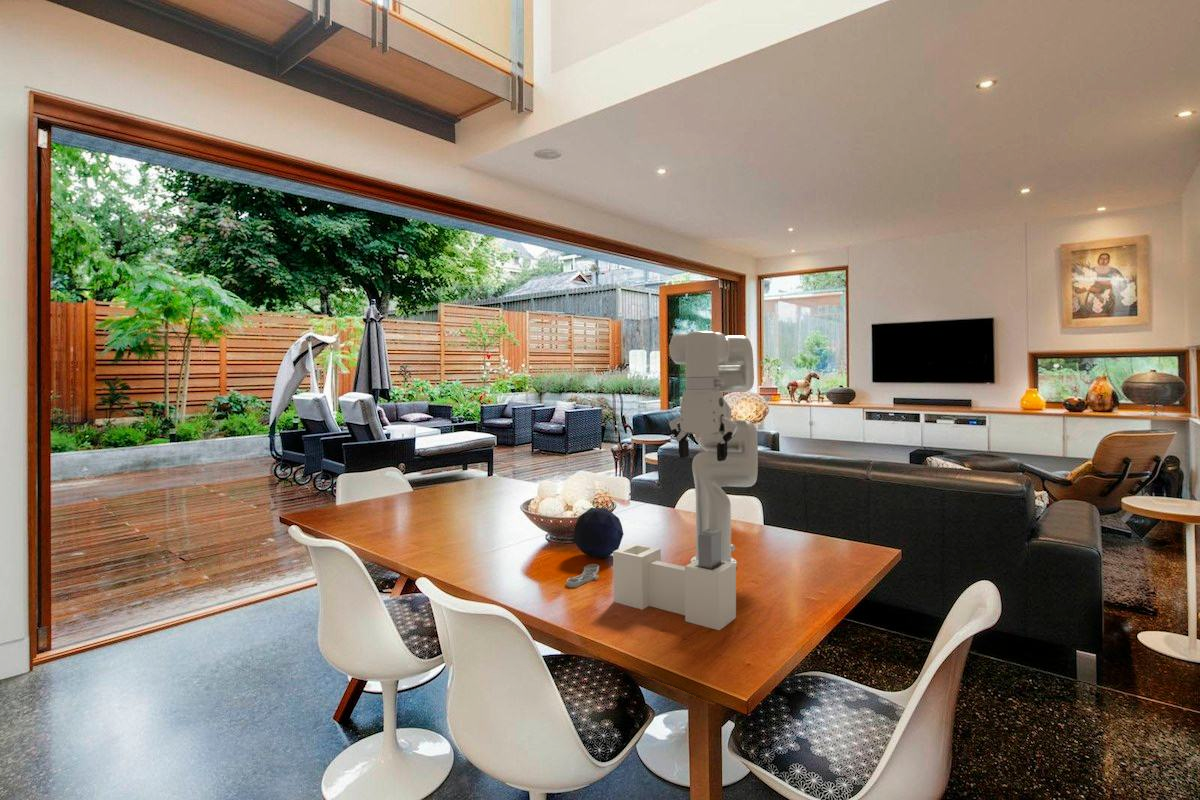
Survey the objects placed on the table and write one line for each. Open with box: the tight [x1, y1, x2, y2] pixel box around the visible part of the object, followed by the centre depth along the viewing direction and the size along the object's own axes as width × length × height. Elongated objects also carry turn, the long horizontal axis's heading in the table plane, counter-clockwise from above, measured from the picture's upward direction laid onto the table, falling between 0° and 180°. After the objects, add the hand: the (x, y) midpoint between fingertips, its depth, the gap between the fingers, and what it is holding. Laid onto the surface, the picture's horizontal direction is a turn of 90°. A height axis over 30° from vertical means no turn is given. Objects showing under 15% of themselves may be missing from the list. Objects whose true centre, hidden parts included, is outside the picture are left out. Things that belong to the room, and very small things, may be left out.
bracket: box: [566, 563, 600, 588], centre depth 158 cm, size 8×2×15 cm
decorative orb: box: [573, 507, 624, 559], centre depth 176 cm, size 14×15×15 cm
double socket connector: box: [612, 543, 737, 631], centre depth 136 cm, size 8×27×12 cm, turn 52°
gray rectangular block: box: [698, 529, 721, 570], centre depth 130 cm, size 5×3×11 cm, turn 145°
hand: (702, 458), depth 140 cm, fingers open, 9 cm apart
